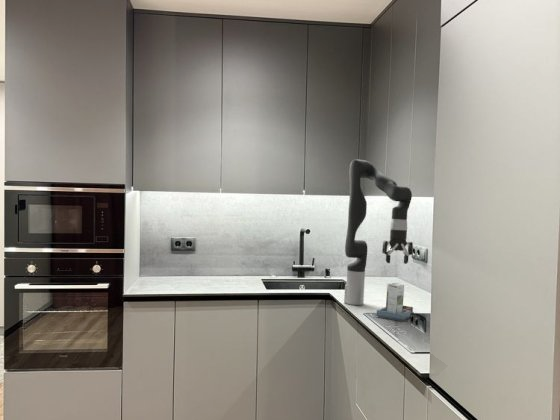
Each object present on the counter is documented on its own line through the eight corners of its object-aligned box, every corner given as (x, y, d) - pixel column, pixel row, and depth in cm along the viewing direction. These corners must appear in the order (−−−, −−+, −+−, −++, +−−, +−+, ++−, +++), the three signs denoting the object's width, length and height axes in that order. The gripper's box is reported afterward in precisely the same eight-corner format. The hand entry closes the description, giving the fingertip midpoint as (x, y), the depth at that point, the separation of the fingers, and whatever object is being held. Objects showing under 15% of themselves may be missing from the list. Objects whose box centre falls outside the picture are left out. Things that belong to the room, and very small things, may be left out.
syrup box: (391, 312, 218) (393, 282, 218) (403, 315, 214) (404, 284, 214) (385, 314, 214) (386, 283, 214) (396, 316, 210) (398, 285, 210)
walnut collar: (385, 311, 225) (386, 306, 225) (393, 308, 233) (393, 303, 233) (405, 315, 219) (406, 310, 219) (412, 312, 227) (412, 307, 227)
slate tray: (376, 316, 213) (376, 310, 213) (386, 312, 222) (386, 306, 222) (401, 321, 206) (401, 314, 206) (410, 317, 216) (410, 310, 216)
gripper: (409, 229, 222) (407, 262, 222) (381, 227, 219) (379, 261, 219) (416, 230, 214) (414, 264, 215) (387, 228, 212) (385, 263, 212)
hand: (396, 263), depth 217 cm, fingers open, 8 cm apart
